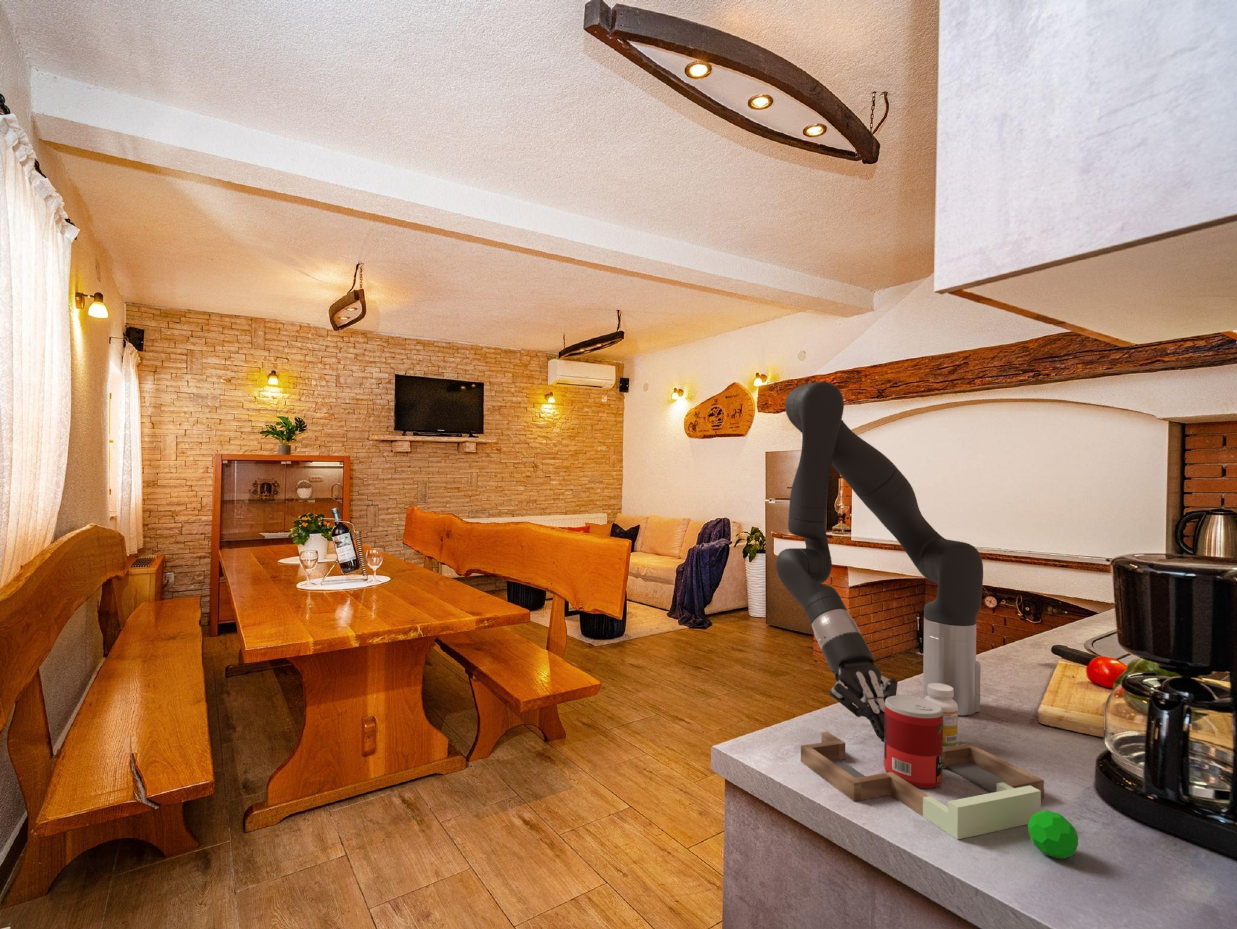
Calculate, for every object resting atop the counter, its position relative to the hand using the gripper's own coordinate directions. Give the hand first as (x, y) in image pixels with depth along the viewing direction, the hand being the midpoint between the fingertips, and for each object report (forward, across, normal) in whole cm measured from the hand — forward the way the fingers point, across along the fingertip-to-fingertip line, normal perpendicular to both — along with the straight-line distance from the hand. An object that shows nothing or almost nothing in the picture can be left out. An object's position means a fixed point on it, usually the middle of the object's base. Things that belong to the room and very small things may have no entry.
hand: (889, 739), depth 97 cm
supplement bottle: (0, +14, +6) cm, 15 cm away
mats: (+7, 0, -1) cm, 7 cm away
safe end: (+14, 0, -9) cm, 17 cm away
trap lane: (+5, 0, 0) cm, 5 cm away
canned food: (+6, 0, 0) cm, 6 cm away
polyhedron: (+20, +2, -15) cm, 25 cm away
